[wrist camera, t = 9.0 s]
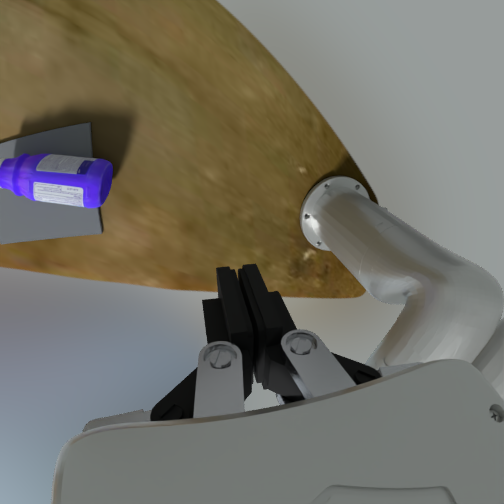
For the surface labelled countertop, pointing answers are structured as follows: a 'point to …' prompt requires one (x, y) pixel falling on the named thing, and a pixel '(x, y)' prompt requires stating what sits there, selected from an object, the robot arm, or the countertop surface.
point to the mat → (45, 213)
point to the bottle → (58, 178)
